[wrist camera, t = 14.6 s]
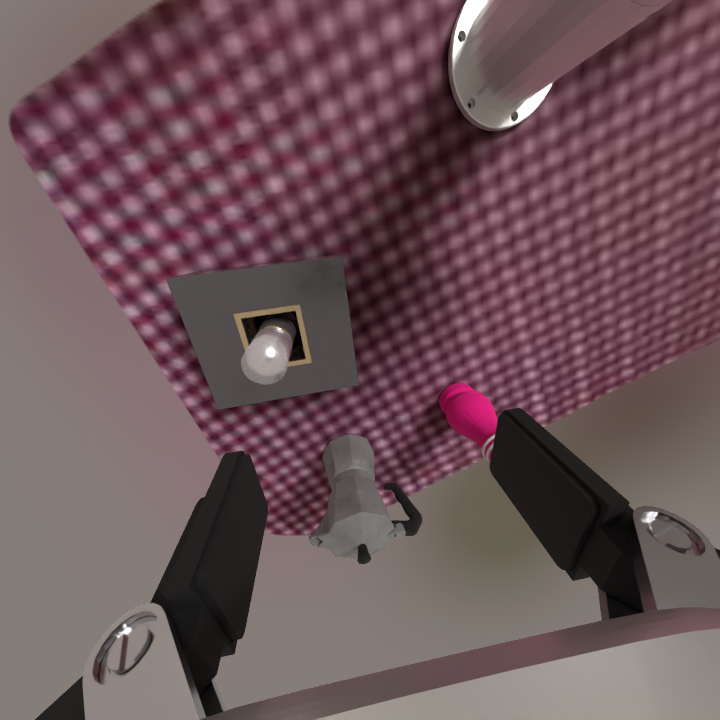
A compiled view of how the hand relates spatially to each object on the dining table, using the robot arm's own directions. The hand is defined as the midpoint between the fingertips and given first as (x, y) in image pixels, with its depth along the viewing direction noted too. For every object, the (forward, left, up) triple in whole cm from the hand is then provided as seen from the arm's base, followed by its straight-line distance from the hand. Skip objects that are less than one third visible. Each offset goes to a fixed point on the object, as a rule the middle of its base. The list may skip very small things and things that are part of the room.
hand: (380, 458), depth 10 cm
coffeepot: (+20, +19, -30) cm, 40 cm away
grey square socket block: (+7, -4, -30) cm, 30 cm away
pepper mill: (+1, +27, -30) cm, 40 cm away
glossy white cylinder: (+7, -4, -30) cm, 31 cm away
